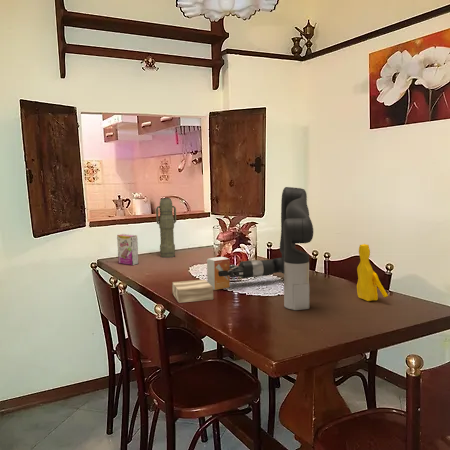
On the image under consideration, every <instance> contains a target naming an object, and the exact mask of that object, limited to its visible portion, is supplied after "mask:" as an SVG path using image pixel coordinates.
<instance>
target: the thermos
mask: <svg viewBox="0 0 450 450" xmlns="http://www.w3.org/2000/svg"><path fill="white" fill-rule="evenodd" d="M155 214H156V215H155V216H156V217H155V218H156V224H157V225H159V227H158V228H159V230H160V231H159V232H160V245H159V253H160V258H163V259H164V258H165V259H167V258H174V257H176V244H175V238H174V236H175V235H174V234H175V232H174V228H175V224H176V223H177V208H176V206H175V205H173V201H172V198H169V197H162V198H160V200H159V204H158V206H156V208H155Z"/></svg>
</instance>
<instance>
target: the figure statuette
mask: <svg viewBox="0 0 450 450" xmlns="http://www.w3.org/2000/svg"><path fill="white" fill-rule="evenodd" d="M358 255H359V259H360V260H359V264H358V266H356V267H357V268H356V271H357V278H358V279H357V284H356V292H357V293H356V294H357V297H358V299H362V300H363V301H367V302H371V301H378V299H379V295H378V291H380V293H381V296H382V297H383V298H387V297H389V294H388V293H387V292H386V290H385V288H384V286H383V285H382V283H381V281H380V279H379V276H378V274H377V273H376V272H375V271H374V270H373V267H372V265H371V263H370V255H371V249H370V245H369V244H366V243H363V244H359V248H358Z"/></svg>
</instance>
